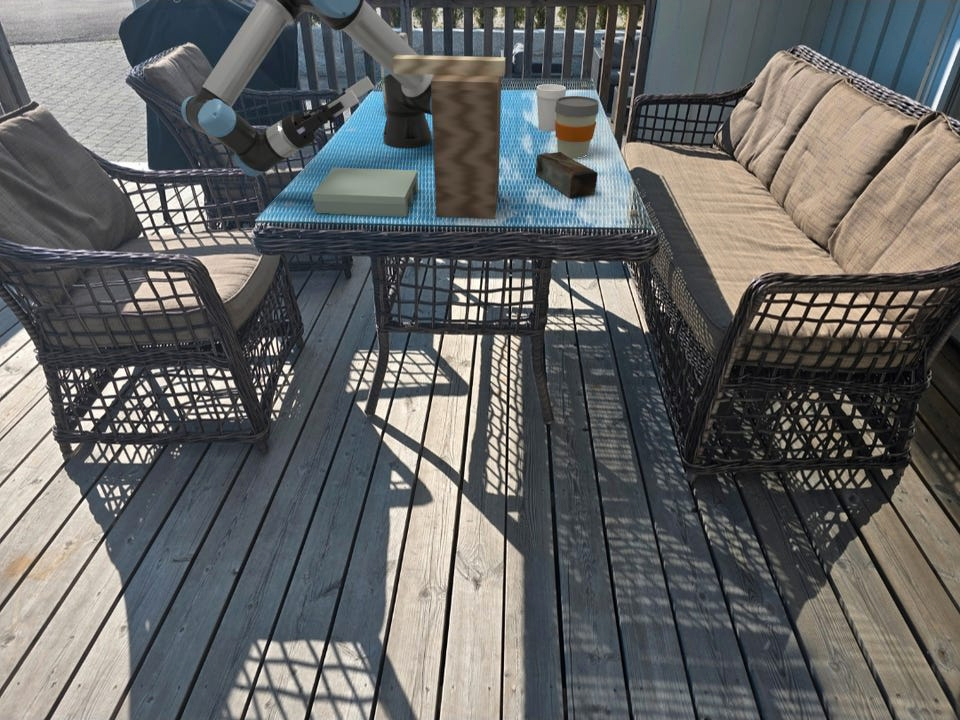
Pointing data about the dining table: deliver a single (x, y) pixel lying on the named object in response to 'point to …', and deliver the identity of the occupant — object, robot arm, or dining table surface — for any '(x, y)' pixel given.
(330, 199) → the grey-green flat box
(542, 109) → the foam cup
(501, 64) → the pine slat
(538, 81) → the dining table surface
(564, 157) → the beverage carton
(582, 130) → the reusable coffee cup
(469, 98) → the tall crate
